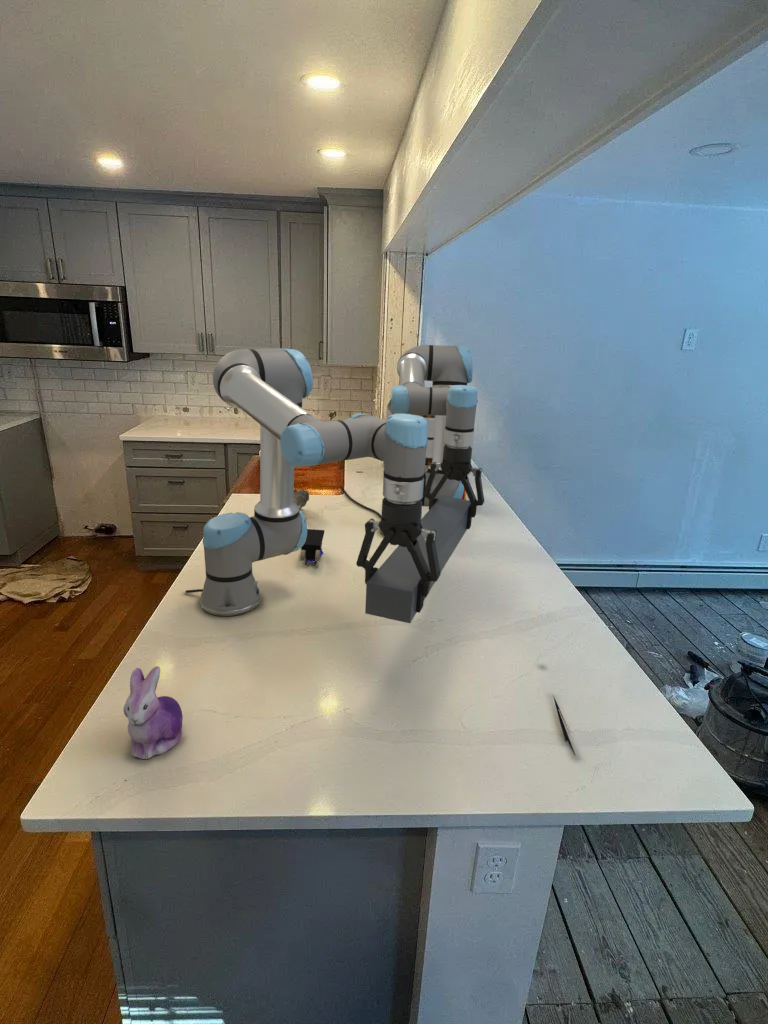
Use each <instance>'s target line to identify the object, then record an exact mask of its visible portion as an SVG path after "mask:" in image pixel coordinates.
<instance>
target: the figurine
mask: <svg viewBox="0 0 768 1024" xmlns="http://www.w3.org/2000/svg"><path fill="white" fill-rule="evenodd" d="M160 676H161V668H160V666H159V665H156V666H154V667H152V669H150V671H149V673H148V674H147V676H146V677H145V675H144V672H143V670H142V668H140V667H135V668H134V669H133V670H132V672H131V674H130V679H129V680H130V681H129V690H130V692H129V695H128V696H127V699H126V701H125V702H124V704H123V709H122V711H123V714H124V716H125V717H126V718H127V721H128V724H127V731H128V735H129V737H130V738H131V741H132V746H131V750H130V751H131V752H130V753H131V756H132V757H135V758H138V759H143V760H147V759H151V758H153V757H154V756H157V755H158V756H159V755H163V754H164V753H167V751H169V750H171V749H172V748H173V747H175V745H177V744H178V743H179V742H180V741H181V739H182V734H183V733H182V728H183V710H182V708H181V706H180V703H179V702H178V701H177V700H176V699H175V698H174V697H172V696H168V695H162V696H157V694H156V690H157V687H158V683H159V680H160Z"/></svg>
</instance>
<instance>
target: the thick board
mask: <svg viewBox="0 0 768 1024" xmlns="http://www.w3.org/2000/svg"><path fill="white" fill-rule="evenodd" d="M470 504H471V503H470V500H469V499H466V500H463V499H457V498H450V497H443V496H441V497H440V498H439V499H438V500H437V501H436V503H435V504H434V505H433V506H432V507H431V508H430V510H429V509H428V511H427V512H426V513H425V514H424V515H423V516H422V517H421V525H422V527H423V529H427V530H430V531H431V530H432V529H435V530H436V531H437V534H436V539H435V543H436V549H437V555H438V561H439V567H440V573H442V571H443V570H444V568H445V567H446V566H447V563H448V562H449V560H450V558H451V557H452V555H453V553H454V551H455V550H456V548H457V546H458V545H459V543H460V542H461V540H462V539H463V537H464V535H465V533H466V532H467V530H468V529H466V527H467V518H468V507H469V505H470ZM417 540H418V542H419V547H420V550H421V552H422V554H423V557H424V559H425V561H426V564H427V566H428V568H429V562H428V556H427V550H426V542H425V541H424V539H423V536H422V535H420V536H419V537H418V538H417ZM429 571H430V568H429ZM420 579H421V577H420V575H419V572H418V570H417V568H416V565H415V563H414V561H413V558H412V556H411V554H410V552H408V550H407V547H402V546H399V545H397V547H396V548H395V549H394V550H393V551H392V552H391V554H390V555H388V557H387V558H386V559H385V561H384V562H383V563H382V564H381V565H380V566H379V567H378V570H377V571H376V572H375V574H374V575H373V576H372V577H371V578H370V579H369V581H368V582H367V584H365V585H366V586H365V587H366V589H365V609H364V611H365V612H364V614H366V615H370V616H374V617H379V618H384V619H388V620H392V621H397V622H401V623H406V624H411V623H412V622H413V620H414V619H415V616H416V615H417V614H418V612H416V604H417V591H418V582H419V580H420ZM435 584H436V582H433V581H431V582H430V591H431V590H432V589H433V586H434V585H435ZM426 598H427V597H424V601H425V600H426Z"/></svg>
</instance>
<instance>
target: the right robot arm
mask: <svg viewBox="0 0 768 1024" xmlns="http://www.w3.org/2000/svg"><path fill="white" fill-rule="evenodd" d="M473 368H474V367H473V357H472V352H471V350H470V349H469V348H468V347H467V346H461V345H460V346H459V345H444V344H443V345H441V344H440V345H439V344H419V345H417V346H416V345H415V346H413V347H411V348H409V349H408V350H406V351H405V352H404V353H402V354H401V356H400V357H399V359H398V361H397V365H396V372H397V375H398V378H399V380H398V381H399V382H398V385H399V386H398V385H394V386H392V388H391V398H390V400H391V410H392V412H394V413H402V414H419V415H435V425H434V441H433V458H432V464H431V465H428V466H427V469H426V472H424V486H423V498H422V499H421V501H422V507H428V511H429V510H430V508H431V507H432V506H433V505H434V504H435V503H436V501H437V500H438V499H439V498H440V497H441V496H443V497H450V498H457V499H462V496H463V492H464V488H465V491H466V497H468V500H470V503H471V504H470V505H469V507H468V518H467V527H466V529H467V530H470V528H471V527H472V520H473V518H474V519H475V517H476V516H477V511H478V510H477V509H478V507H482V506H483V505H484V503H485V495H484V488H483V482H482V481H483V480H482V473H483V468H482V467H478V468H477V467H473V465H472V456H473V455H472V454H473V448H472V447H473V444H474V436H475V421H476V414H477V406H478V405H477V404H478V392H479V391H478V388H477V387H475V386H472V385H468V384H470V383H471V384H472V382H473V373H474V371H473ZM425 382H432V385H431V386H426V385H425ZM470 473H472V476H473V477H474V483H475V489H476V494H475V492H474V489H473V487H472V485H471V482H470V478H469V476H468V475H469V474H470ZM339 488H340V489H341V491H342V492H343V493H344V495H345V496H346V497H347V498H348V499H349V500H350V501H351V502H352V503H354V504H356V505H357V506H359V507H361V508H363V509H365V510H367V511H369V512H372V513H374V514H376V515H377V516H378V517H379V518H380V519H381V518H382V514H381V513H380V512H378V511H377V510H375V509H374V508H370V507H368V506H366V505H364V504H362V503H360V502H358V501H357V500H355V499H353V498H352V497H351V496H350V495H349V494H348V492H347V491H346V490H345V489H344V487H343V486H342V485H340V486H339ZM378 533H379V534H380V535H381V536H382V537H383V538H384V537H385V536H384V535H383V533H382V531H381V530H380V528H379V527H378Z"/></svg>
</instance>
